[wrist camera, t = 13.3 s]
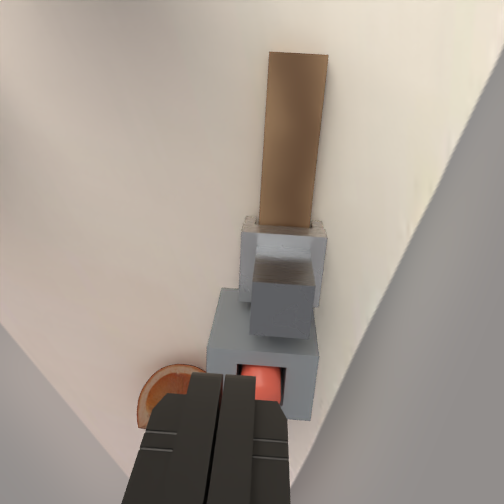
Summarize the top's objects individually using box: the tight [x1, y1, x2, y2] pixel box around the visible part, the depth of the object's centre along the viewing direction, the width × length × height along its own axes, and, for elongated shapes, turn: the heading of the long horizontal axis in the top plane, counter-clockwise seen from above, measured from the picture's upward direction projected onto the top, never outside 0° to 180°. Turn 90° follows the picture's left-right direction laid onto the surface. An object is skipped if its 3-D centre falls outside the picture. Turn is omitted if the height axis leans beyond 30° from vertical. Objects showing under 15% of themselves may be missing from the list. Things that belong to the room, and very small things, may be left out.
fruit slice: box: [137, 364, 206, 429], centre depth 42 cm, size 8×7×5 cm
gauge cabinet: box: [206, 288, 319, 421], centre depth 37 cm, size 8×6×9 cm
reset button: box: [241, 364, 281, 404], centre depth 35 cm, size 3×3×7 cm
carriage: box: [238, 216, 327, 339], centre depth 33 cm, size 6×6×10 cm
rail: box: [259, 52, 328, 228], centre depth 35 cm, size 4×19×2 cm, turn 177°
